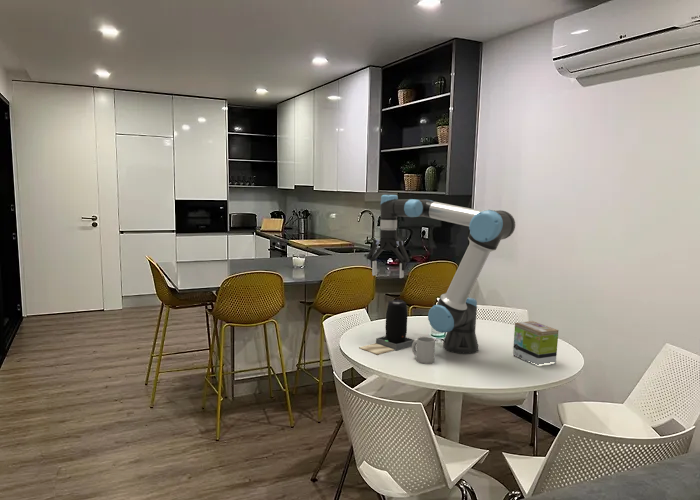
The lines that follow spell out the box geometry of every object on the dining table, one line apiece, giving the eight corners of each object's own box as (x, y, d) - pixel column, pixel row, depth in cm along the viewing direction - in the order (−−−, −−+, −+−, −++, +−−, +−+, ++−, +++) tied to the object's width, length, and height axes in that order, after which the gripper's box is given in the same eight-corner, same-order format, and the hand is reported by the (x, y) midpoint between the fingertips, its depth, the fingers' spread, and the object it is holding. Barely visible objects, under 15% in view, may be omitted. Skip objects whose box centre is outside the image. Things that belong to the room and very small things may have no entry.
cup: (427, 365, 202) (429, 343, 201) (406, 359, 209) (407, 337, 208) (437, 361, 208) (438, 339, 207) (416, 355, 214) (417, 334, 213)
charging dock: (414, 345, 228) (415, 339, 228) (396, 350, 220) (396, 343, 220) (394, 339, 237) (395, 332, 237) (375, 343, 229) (376, 337, 228)
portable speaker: (408, 347, 226) (410, 303, 223) (388, 348, 223) (390, 303, 221) (401, 341, 234) (403, 299, 231) (382, 342, 231) (384, 299, 229)
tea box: (511, 356, 218) (514, 321, 216) (530, 353, 222) (532, 320, 220) (537, 367, 204) (540, 331, 203) (556, 364, 208) (559, 329, 207)
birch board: (393, 350, 220) (393, 349, 220) (377, 354, 213) (377, 353, 213) (375, 344, 228) (375, 343, 228) (359, 348, 221) (359, 347, 221)
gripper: (417, 230, 228) (416, 277, 230) (367, 228, 240) (367, 273, 242) (411, 230, 221) (409, 279, 223) (360, 228, 233) (359, 275, 235)
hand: (387, 276), depth 232 cm, fingers open, 13 cm apart
